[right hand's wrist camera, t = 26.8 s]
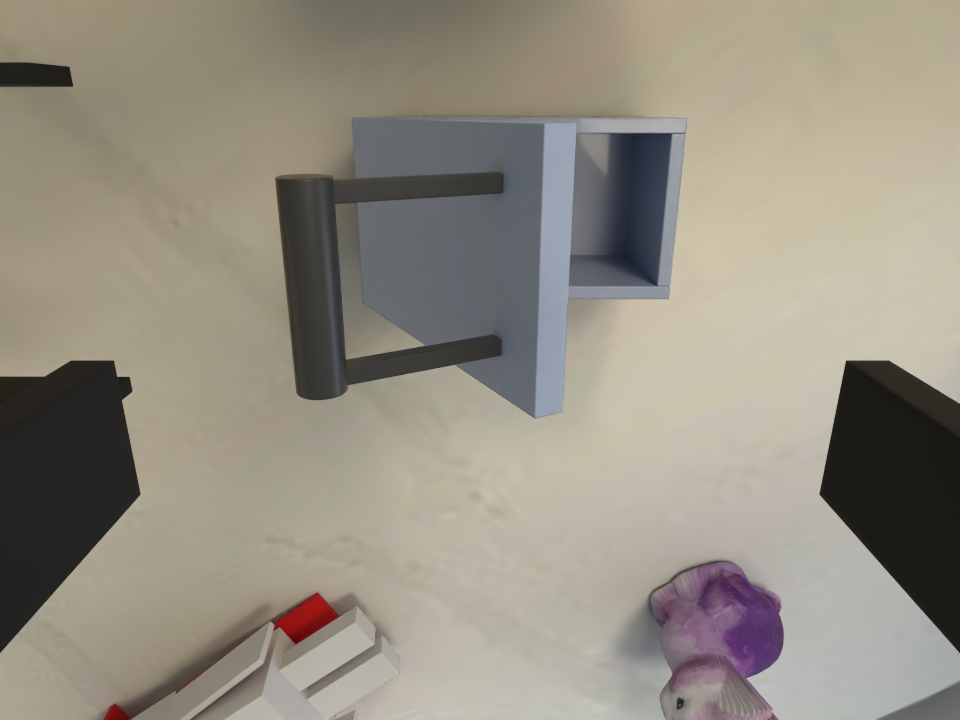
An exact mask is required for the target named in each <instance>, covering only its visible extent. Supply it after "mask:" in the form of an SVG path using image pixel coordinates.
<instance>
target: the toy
mask: <svg viewBox="0 0 960 720" xmlns="http://www.w3.org/2000/svg"><path fill="white" fill-rule="evenodd" d="M399 674H400V656H399V654H398V653H397V652H396V651H395V650H394V649H393V647H392V646H391V645H390V644H389V643H388V642H387V640H386V639H385V638H384V637H383V636H382V635H381V636H380V637H378V638H377V639H375V626H374V625H373V624H372V623H371V622H370V620H369V619H368V618H367V617H366V616H365V615H364V613H363V612H362V611H361V610H360V609H359V608H358V606H356V607H354V608H353V609H351V610H349V611H348V612H346V613H345V614H343V615H342V616H340V617H339V616H338V615H337V614H336V612H335V611H334V610H333V609H332V608H331V607H330V606H329V605H328V604H327V603H326V602H325V600H324V599H323V598H322V597H321V596H320V595H319V594H318V593H317V594H315V595H314V596H313V597H311V598H310V599H308V600H307V601H305V602H304V603H303V604H301V605H300V606H298V607H297V608H295V609H294V610H292V611H291V612H290V613H288V614H287V615H285V616H284V617H282V618H281V619H279V620H278V621H277V622H275V623H274V624H273V623H272V622H271V621H270V622H268V623H267V624H266V625H264V626H263V627H262V628H261V629H259V630H258V631H257V632H255V633H254V634H253V635H252V636H250V637H249V638H248V639H246V640H245V641H244V642H243V643H241V644H240V645H239V646H237V647H236V648H235V649H233V650H232V651H231V652H230V653H228V654H227V655H226V656H224V657H223V658H222V659H221V660H219V661H218V662H217V663H215V664H214V665H213V666H212V667H210V668H209V669H207V670H206V671H204V672H203V673H202V674H200V675H199V676H197V677H196V678H194V679H193V680H191V681H190V682H189V683H187V684H186V685H185V686H184V688H183V689H182V690H180V691H179V692H178V691H177V690H176V691H174V692H173V693H171V694H170V695H168V696H167V697H165V698H164V699H162V700H160V701H159V702H157V703H156V704H154V705H153V706H151V707H150V708H148V709H146V710H145V711H143V712H142V713H140V714H139V715H137V716H136V717H134V718H132V719H130V718H129V717H128V716H127V715H126V714H125V713H124V712H123V711H122V710H121V709H120V708H119V707H118V706H117V705H116V704H114V705H113V706H111V707H110V709H109V711H108V713H107V715H106V716H105V718H104V720H335V717H336V714H337V713H338V712H340V711H341V710H343V709H345V708H346V707H348V706H349V705H351V704H353V703H354V702H356V701H357V700H359V699H361V698H362V697H364V696H365V695H367V694H368V693H370V692H372V691H373V690H375V689H376V688H378V687H380V686H381V685H383V684H384V683H386V682H387V681H389V680H391V679H392V678H394V677H395V676H397V675H399ZM357 719H358V714H357V712H356V711H355V710H354V711H352V712H350V713H348V714H346V715H344V716H342V717H340V718H338V719H336V720H357Z"/></svg>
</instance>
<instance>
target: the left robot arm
mask: <svg viewBox="0 0 960 720" xmlns="http://www.w3.org/2000/svg"><path fill="white" fill-rule="evenodd" d="M0 87H73V83H72V78H71V73H70V68H69V67H67V66H56V65H46V64H36V63H0ZM42 378H44V377H0V404H1V403H3V402H4V401H6V400H7V399H9V398H11V397H12V396H14V395H16V394H17V393H19V392H21V391H22V390H24V389H26V388H27V387H29V386H30V385H32V384H34V383H35V382H37V381H39V380H40V379H42ZM117 379H118V384H119V389H120V394H121V399H122V400H123V399H124V398H125V397H126V396H128V395H129V394H130V393H131V392H132V386H131V381H130V377H117Z"/></svg>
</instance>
